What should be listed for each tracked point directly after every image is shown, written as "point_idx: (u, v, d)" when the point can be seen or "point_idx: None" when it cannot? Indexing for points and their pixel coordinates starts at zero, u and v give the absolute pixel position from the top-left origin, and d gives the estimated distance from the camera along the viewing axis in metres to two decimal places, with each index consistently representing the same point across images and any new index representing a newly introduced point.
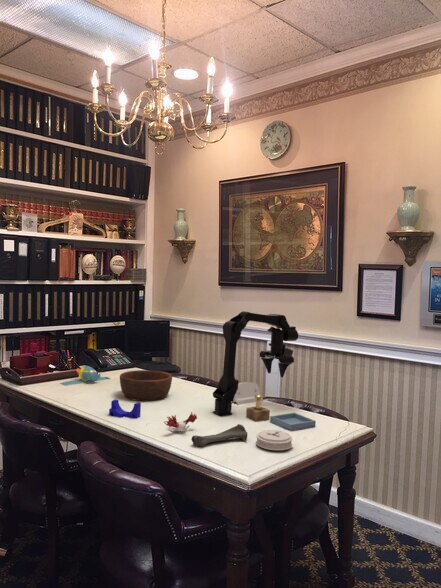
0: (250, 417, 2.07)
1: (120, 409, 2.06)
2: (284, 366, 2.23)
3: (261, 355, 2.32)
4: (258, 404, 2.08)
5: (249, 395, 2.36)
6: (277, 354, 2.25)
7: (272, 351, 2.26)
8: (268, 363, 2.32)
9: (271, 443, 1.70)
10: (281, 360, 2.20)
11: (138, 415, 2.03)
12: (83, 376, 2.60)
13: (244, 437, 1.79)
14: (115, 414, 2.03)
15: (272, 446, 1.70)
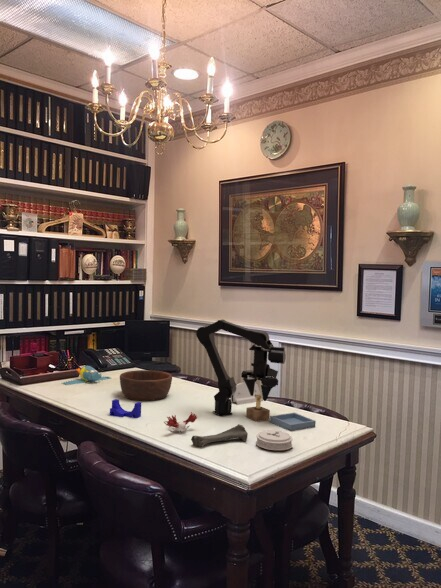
0: (250, 417, 2.07)
1: (121, 409, 2.06)
2: (267, 389, 2.04)
3: (243, 376, 2.13)
4: (258, 404, 2.08)
5: (249, 395, 2.36)
6: (260, 375, 2.05)
7: (254, 372, 2.06)
8: (251, 384, 2.12)
9: (271, 443, 1.70)
10: (264, 382, 2.00)
11: (139, 415, 2.03)
12: (84, 376, 2.61)
13: (244, 437, 1.78)
14: (116, 414, 2.03)
15: (272, 446, 1.70)
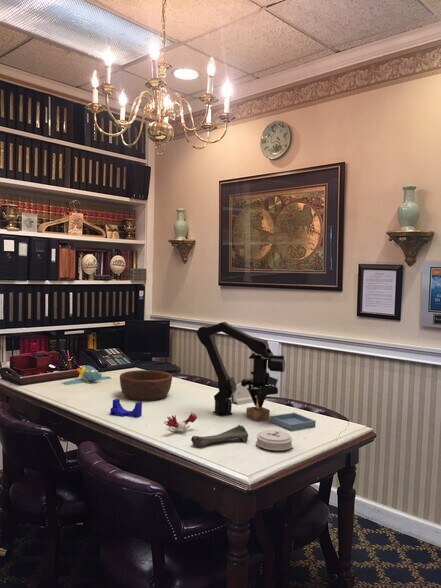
0: (250, 417, 2.07)
1: (121, 408, 2.07)
2: (263, 395, 2.06)
3: (243, 384, 2.13)
4: None
5: (249, 395, 2.36)
6: (260, 384, 2.05)
7: (254, 380, 2.06)
8: (255, 394, 2.10)
9: (271, 443, 1.70)
10: (264, 391, 2.00)
11: (139, 414, 2.04)
12: (84, 376, 2.61)
13: (244, 438, 1.78)
14: (116, 413, 2.04)
15: (272, 446, 1.70)
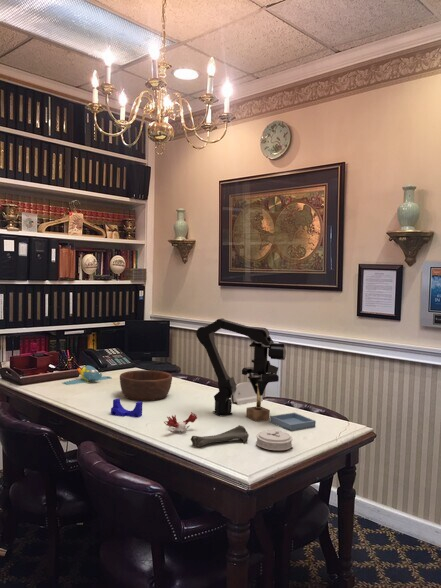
0: (250, 417, 2.07)
1: (122, 408, 2.07)
2: (263, 383, 2.06)
3: (243, 372, 2.13)
4: None
5: (249, 395, 2.36)
6: (260, 372, 2.05)
7: (255, 368, 2.06)
8: (255, 382, 2.09)
9: (271, 443, 1.70)
10: (264, 379, 2.00)
11: (140, 414, 2.04)
12: (85, 375, 2.62)
13: (245, 438, 1.77)
14: (117, 413, 2.04)
15: (272, 446, 1.70)
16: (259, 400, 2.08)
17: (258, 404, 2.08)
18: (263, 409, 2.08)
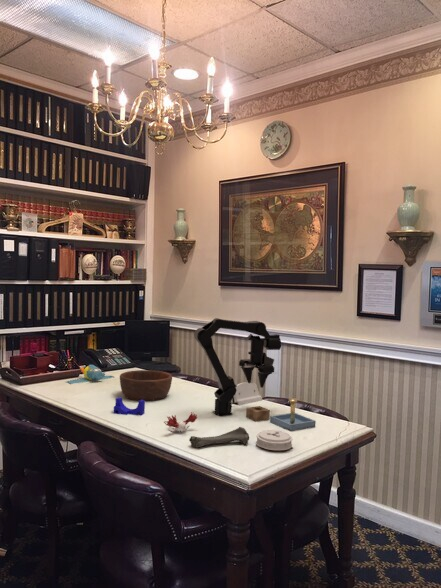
0: (250, 417, 2.07)
1: (124, 407, 2.10)
2: (264, 376, 2.12)
3: (241, 364, 2.21)
4: (292, 408, 2.01)
5: (249, 395, 2.36)
6: (257, 363, 2.14)
7: (252, 360, 2.15)
8: (248, 372, 2.21)
9: (271, 443, 1.70)
10: (260, 370, 2.09)
11: (142, 412, 2.07)
12: (88, 375, 2.64)
13: (245, 440, 1.75)
14: (120, 411, 2.07)
15: (272, 446, 1.70)
16: (293, 416, 2.01)
17: (292, 420, 2.01)
18: (263, 409, 2.08)
